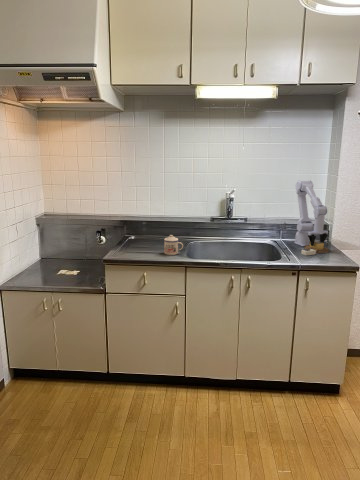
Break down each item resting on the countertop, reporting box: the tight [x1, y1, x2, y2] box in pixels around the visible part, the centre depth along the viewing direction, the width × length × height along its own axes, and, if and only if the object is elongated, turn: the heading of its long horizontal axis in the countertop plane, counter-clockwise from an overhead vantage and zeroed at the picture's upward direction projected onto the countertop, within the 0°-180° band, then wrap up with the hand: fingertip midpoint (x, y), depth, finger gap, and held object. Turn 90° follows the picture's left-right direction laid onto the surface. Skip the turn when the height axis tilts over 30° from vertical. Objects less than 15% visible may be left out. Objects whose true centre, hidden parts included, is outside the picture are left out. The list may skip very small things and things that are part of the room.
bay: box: [300, 249, 317, 256], centre depth 231 cm, size 4×8×2 cm, turn 111°
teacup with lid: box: [163, 234, 184, 256], centre depth 227 cm, size 12×9×12 cm
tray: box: [303, 245, 330, 254], centre depth 239 cm, size 13×9×2 cm
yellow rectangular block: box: [309, 239, 325, 250], centre depth 239 cm, size 9×4×5 cm, turn 21°
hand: (316, 245), depth 239 cm, fingers open, 7 cm apart
